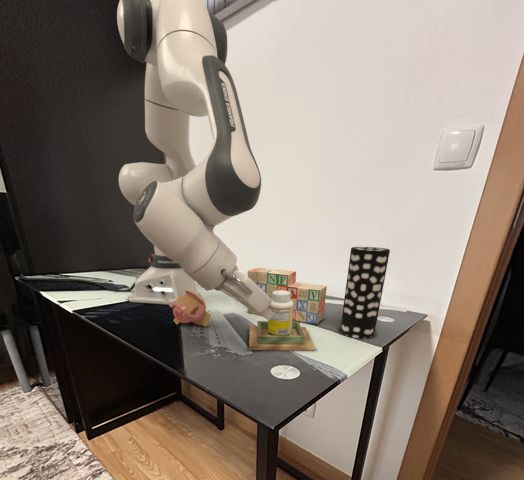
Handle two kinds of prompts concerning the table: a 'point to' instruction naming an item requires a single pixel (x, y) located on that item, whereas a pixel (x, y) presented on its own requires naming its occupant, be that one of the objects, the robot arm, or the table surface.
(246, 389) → the table surface
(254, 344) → the wooden board green frame
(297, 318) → the stack of blocks
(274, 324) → the supplement bottle
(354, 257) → the spotted tube
